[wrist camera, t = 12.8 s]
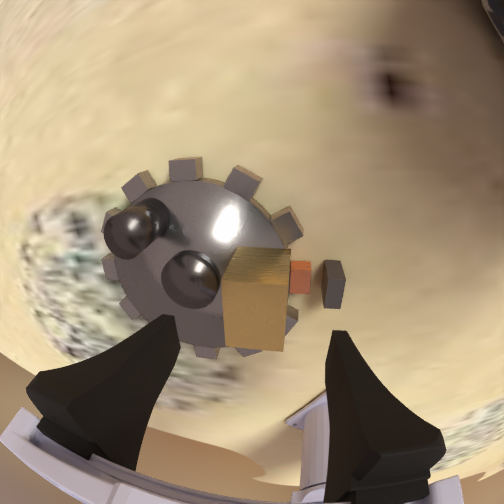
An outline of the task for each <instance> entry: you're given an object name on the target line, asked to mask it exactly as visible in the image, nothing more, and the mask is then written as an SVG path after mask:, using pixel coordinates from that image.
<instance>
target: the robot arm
mask: <svg viewBox="0 0 504 504" xmlns="http://www.w3.org/2000/svg"><path fill="white" fill-rule="evenodd" d="M180 348H181V347H180V343H179V338H178V333H177V328H176V322H175V317H174V316H173V315H166V314H162V315H160V316H159V317H157V318H156V319H154V320H153V321H152V322H150V323H149V324H147V325H146V326H144V327H143V328H142V329H140V330H139V331H137V332H136V333H134V334H133V335H131V336H130V337H128V338H127V339H125V340H123V341H122V342H120V343H119V344H117V345H115V346H114V347H112V348H110V349H108V350H106V351H104V352H102V353H100V354H98V355H96V356H94V357H91V358H89V359H86V360H84V361H81V362H78V363H75V364H72V365H69V366H65V367H62V368H57V369H52V370H46V371H40V372H39V373H38V374H37V375H36V376H35V378H34V379H33V380H32V381H31V382H30V384H29V385H28V386H27V387H26V392H27V394H28V396H29V398H30V399H31V401H32V402H33V404H34V405H35V406H36V407H37V409H38V410H39V411H40V413H41V414H42V415H43V418H42V419H41V420H40V419H39V418H38V417H36V416H35V415H34V414H32V413H31V412H29V411H28V410H26V409H25V408H23V407H22V408H21V409H20V410H19V412H18V413H17V414H16V415H15V417H14V418H13V420H12V421H11V422H10V424H9V425H8V426H7V428H6V429H5V431H4V432H3V433H2V435H1V436H0V441H1V442H2V443H3V444H4V445H5V446H6V447H7V448H8V449H9V450H10V451H12V453H14V454H15V455H16V456H17V457H18V458H19V459H20V460H21V461H23V462H24V463H25V464H26V465H28V466H29V467H30V468H31V469H33V470H34V471H35V472H37V473H38V474H39V475H41V476H42V477H43V478H45V479H46V480H48V481H49V482H51V483H52V484H53V485H55V486H56V487H58V488H59V489H61V490H62V491H64V492H65V493H67V494H69V495H71V496H72V497H74V498H75V499H77V500H79V501H80V502H82V503H84V504H464V500H463V495H462V489H461V484H460V479H459V476H458V475H456V476H453V477H450V478H446V479H443V480H439V481H436V482H434V483H431V484H429V485H428V480H427V479H429V478H430V476H431V475H430V468H432V467H433V466H434V465H435V464H436V463H437V462H438V461H439V460H440V459H441V458H442V457H443V456H444V455H445V453H446V447H445V443H444V439H443V436H442V433H441V431H440V429H438V428H436V427H435V426H433V425H431V424H429V423H428V422H426V421H424V420H423V419H421V418H420V417H419V416H417V415H416V414H415V413H413V412H412V411H411V410H409V409H408V408H407V407H406V406H405V405H403V404H402V403H401V402H400V401H399V400H398V399H397V398H395V397H394V396H393V395H392V394H391V393H390V392H389V390H388V389H387V388H386V387H385V386H384V385H383V384H382V383H381V381H380V380H379V379H378V378H377V376H376V375H375V374H374V373H373V371H372V370H371V369H370V367H369V366H368V364H367V363H366V361H365V360H364V358H363V357H362V356H361V354H360V352H359V351H358V349H357V348H356V346H355V344H354V343H353V341H352V339H351V337H350V336H349V334H348V332H347V331H339V330H333V331H332V336H331V340H330V345H329V349H328V354H327V358H326V362H325V385H326V391H325V392H324V393H323V394H321V395H320V396H319V397H318V398H316V399H315V400H314V401H312V402H311V403H309V404H308V405H307V406H305V407H304V408H303V409H301V410H300V411H298V412H297V413H296V414H294V415H293V416H291V417H290V418H288V419H287V420H286V424H287V425H289V426H292V427H295V428H298V429H301V430H303V448H302V463H301V477H300V489H299V491H297V492H292V498H291V500H290V501H286V502H285V503H279V502H266V501H256V500H248V499H240V498H234V497H228V496H222V495H217V494H212V493H207V492H202V491H198V490H194V489H190V488H186V487H182V486H178V485H175V484H171V483H168V482H165V481H161V480H158V479H155V478H152V477H149V476H146V475H143V474H141V473H138V472H135V470H136V465H137V460H138V456H139V452H140V448H141V444H142V440H143V437H144V433H145V430H146V427H147V424H148V421H149V418H150V415H151V413H152V410H153V407H154V405H155V403H156V400H157V398H158V396H159V395H160V393H161V391H162V389H163V387H164V385H165V383H166V381H167V379H168V377H169V375H170V373H171V371H172V369H173V367H174V365H175V363H176V360H177V357H178V354H179V351H180Z"/></svg>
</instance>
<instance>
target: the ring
mask: <svg viewBox="0 0 504 504" xmlns="http://www.w3.org/2000/svg"><path fill="white" fill-rule="evenodd" d="M480 1H481V4H482V6H483V8H484V9H485V11H486V13H487V15H488V17H489V19H490V20H491V22H492V24H493V25H494V27H495V29H496V30H497V32H498V34H499V36H500V37H501V39H502V41H503V43H504V0H480Z"/></svg>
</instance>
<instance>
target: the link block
mask: <svg viewBox="0 0 504 504" xmlns="http://www.w3.org/2000/svg"><path fill="white" fill-rule="evenodd" d="M290 255H291V249H280V248H262V247H245V246H238V247H237V249H236V251H235V253H234V255H233V257H232V259H231V261H230V263H229V265H228V267H227V269H226V271H225V273H224V275H223V277H222V279H221V289H222V304H223V318H224V331H225V344H226V346H229V347H237V348H247V349H257V350H268V351H281V352H283V347H284V337H285V325H286V313H287V300H288V286H289V271H290Z"/></svg>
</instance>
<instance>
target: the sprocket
mask: <svg viewBox="0 0 504 504" xmlns="http://www.w3.org/2000/svg"><path fill="white" fill-rule="evenodd" d="M169 172H170V181H169V182H166V183H164V184H162V185H159V186H157V184H156V183H155V181H154V180H153V178H152V176H151V175H150V173H149V172H148V170H146V171H143V172H140V173H138V174H137V175H135V176H134V177H133V178H132V179H131V180H129V181H128V182H127V183H126V184H125V185H124V186H123V187H121V188H122V190H123V191H124V193H125V195H126V196H127V198H128V199H129V201H130V203H132V204H131V205H130V207H129V208H127V209H125V210H123V211H122V210H120V209H118V208H117V207H115V208H113V209H111V210H109V211H108V212H106V215H105V219H104V222H103V226H102V230H101V232H102V233H104V239H105V242H106V244H107V246H108V248H109V249H110V251H111V252H112V253H109V254H108V255H106V256H105V257H104V258H103V259H101V260H102V264H103V268H104V272H105V275H106V279H111V280H119V281H120V283H121V285H122V287H123V290H124V292H125V293H126V296H125V298H124V299H123V300H122V301H121V302H120V303H119V304H120V306H121V307H122V308H123V309H124V311H125V312H126V313H127V314H128V316H129V317H130V318H131V319H134V318H136V317H138V316H140V315H142V316H143V317H144V318H145V319H146V320H147V321H148V322H152V321H153V320H154V319H156V318H157V317H159V316H160V315H162V314H166V315H173V316H174V317H175V322H176V328H177V333H178V338H179V340H180V341H182V342H185V343H189V344H192V345H194V347H195V352H196V357H202V358H210V359H217V356H218V353H219V350H220V347H229V346H226V344H225V331H224V318H223V304H222V289H221V279H222V277H223V275H224V273H225V271H226V269H227V267H228V265H229V263H230V261H231V259H232V257H233V255H234V253H235V251H236V249H237V247H238V246H245V247H262V248H280V249H288V247H287V244H288V243H290V242H292V241H294V240H296V239H298V238H300V237H302V236H303V228H302V226H301V224H300V223H299V221H298V219H297V217H296V215H295V214H294V212H293V210H292V208H291V207H290V206H288V207H286V208H284V209H282V210H280V211H279V212H277V213H275V214H273V215H272V216H271V215H270V214H269V213H268V212H267V210H266V209H265V208H264V207H263V206H262V205H261V204H260V203H258V202H257V201H256V200H255V199H254V198H253V195H254V193H255V191H256V190H257V188H258V186H259V184H260V183H261V181H262V178H261V177H259V176H257V175H255V174H253V173H252V172H250V171H248V170H246V169H244V168H243V167H241V166H239V165H237V166H236V167H234V168H233V170H232V172H231V174H230V175H229V177H228V179H227V181H226V183H224V182H221V181H218V180H214V179H208V178H202V177H203V164H202V157H191V158H178V159H173V160H170V161H169ZM156 186H157V187H156ZM310 281H311V262H309V261H291V264H290V271H289V286H288V294H289V288H290V293H297V294H309V293H310ZM297 322H298V310H297V309H295V308H293V307H291V306H289V305H287V313H286V325H285V336H286V334H287V333H288V332H289V331H290V330H291V329H292V328H293V326H294V325H295V324H296V323H297ZM235 348H236V349H237V350H238V351H239V353H240V354H241V355H242V356H243V357H246V356H249V355H252V354H255V353H258V352H261V351H262V350H257V349H247V348H237V347H235Z"/></svg>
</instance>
